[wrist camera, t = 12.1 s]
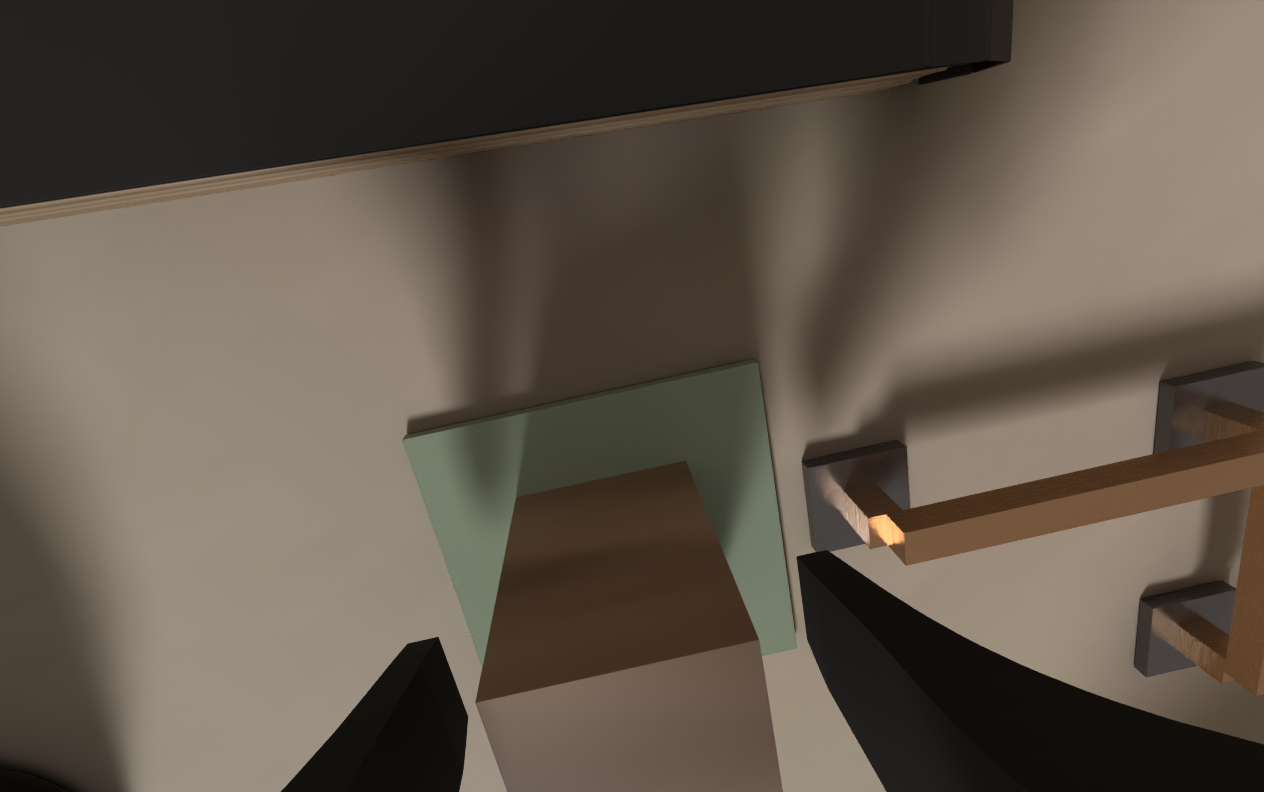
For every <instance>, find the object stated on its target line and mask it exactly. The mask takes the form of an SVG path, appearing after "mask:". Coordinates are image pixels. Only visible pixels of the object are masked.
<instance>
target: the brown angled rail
mask: <svg viewBox="0 0 1264 792" xmlns="http://www.w3.org/2000/svg"><path fill="white" fill-rule="evenodd" d="M802 469H803V477H804V486H805V494H806V502H807V511H808V519H809V528H810V536H811V544H812V547H813V548H814V550H815V551H816V552H819V551H824V550H828V551H829V552H830V551H835V550H839V549H844V548H848V547H853V546H857V545H861V544H867V545H868V547H869V548H870V549H872V548H877V547H881V546H886V545H888V546H889V547H890V548H891V549H892V550H893V552H894V553H895V554H896V555H897V556H898V557H899V558H900V559H901V561H902V562H903V563H904V564H905V565H906V566H907V565H911V564H916V563H920V562H924V561H929V560H933V559H938V558H942V557H947V556H951V555H955V554H960V553H964V552H969V551H973V550H978V549H982V548H986V547H991V546H995V545H1000V544H1004V543H1009V542H1013V541H1017V540H1022V539H1026V538H1031V537H1035V536H1040V535H1044V534H1048V533H1053V532H1057V531H1062V530H1066V529H1071V528H1075V527H1079V526H1084V525H1088V524H1093V523H1097V522H1102V521H1106V520H1110V519H1115V518H1119V517H1124V516H1128V515H1133V514H1137V513H1141V512H1146V511H1150V510H1155V509H1159V508H1164V507H1168V506H1172V505H1177V504H1181V503H1186V502H1190V501H1195V500H1199V499H1203V498H1208V497H1212V496H1217V495H1221V494H1226V493H1230V492H1235V491H1239V490H1243V489H1248V488H1252V491H1251V497H1250V504H1249V510H1248V517H1247V524H1246V530H1245V537H1244V543H1243V550H1242V556H1241V563H1240V569H1239V576H1238V583H1237V589H1236V588H1234V587H1233V586H1231V585H1229V584H1228V583H1226V582H1224V581H1220V582H1215V583H1211V584H1207V585H1202V586H1198V587H1193V588H1189V589H1185V590H1180V591H1176V592H1172V593H1167V594H1163V595H1158V596H1154V597H1150V598H1145V599H1141V600H1140V609H1139V620H1138V631H1137V642H1136V653H1135V664H1134V667H1135V668H1136V669H1137V670H1138V671H1140V672H1141V673H1142V674H1143V675H1144V676H1146V677H1149V676H1154V675H1158V674H1162V673H1167V672H1171V671H1175V670H1180V669H1184V668H1188V667H1193V666H1197V665H1198V666H1199V667H1200V668H1202V669H1203V670H1204V671H1206V672H1207V673H1208V674H1210V675H1211V676H1212V677H1214V678H1215V679H1216V680H1218V681H1219V682H1220V683H1222V684H1224V683H1228V682H1233V681H1237V682H1238V683H1239V684H1241V685H1242V686H1243V687H1245V688H1246V689H1248V690H1249V691H1250V692H1252V693H1253V694H1254V695H1256V696H1259V695H1263V694H1264V363H1260V362H1256V361H1252V362H1248V363H1243V364H1239V365H1234V366H1230V367H1225V368H1221V369H1216V370H1212V371H1207V372H1203V373H1198V374H1194V375H1189V376H1185V377H1180V378H1176V379H1171V380H1167V381H1162V382H1160V389H1159V400H1158V411H1157V422H1156V433H1155V444H1154V454H1152V455H1148V456H1143V457H1139V458H1134V459H1130V460H1126V461H1121V462H1117V463H1112V464H1108V465H1103V466H1099V467H1094V468H1090V469H1085V470H1081V471H1076V472H1072V473H1067V474H1063V475H1059V476H1054V477H1050V478H1045V479H1041V480H1036V481H1032V482H1027V483H1023V484H1018V485H1014V486H1009V487H1005V488H1001V489H996V490H992V491H987V492H983V493H978V494H974V495H969V496H965V497H960V498H956V499H951V500H947V501H942V502H938V503H934V504H929V505H925V506H920V507H916V508H911V509H910V501H909V483H908V465H907V447H906V446H905V445H904V444H903V443H901V442H900V441H899V440H896V441H891V442H887V443H882V444H878V445H873V446H869V447H864V448H860V449H855V450H851V451H846V452H842V453H837V454H833V455H828V456H824V457H819V458H815V459H810V460H806V461H802Z"/></svg>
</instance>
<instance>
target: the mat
mask: <svg viewBox="0 0 1264 792" xmlns="http://www.w3.org/2000/svg"><path fill="white" fill-rule="evenodd" d="M403 443H404V446H405V449H406V452H407V455H408V457H409V460H410V463H411V466H412V469H413V472H414V474H415V477H416V480H417V483H418V486H419V489H420V491H421V494H422V497H423V500H424V503H425V506H426V508H427V511H428V514H429V517H430V520H431V523H432V525H433V528H434V531H435V534H436V537H437V540H438V542H439V545H440V548H441V551H442V554H443V557H444V559H445V562H446V565H447V568H448V571H449V574H450V576H451V579H452V582H453V585H454V588H455V591H456V593H457V596H458V599H459V602H460V605H461V608H462V610H463V613H464V616H465V619H466V622H467V625H468V628H469V630H470V633H471V636H472V639H473V642H474V645H475V647H476V650H477V653H478V656H479V659H480V662H481V664H482V667H483V662H484V657H485V652H486V647H487V642H488V637H489V632H490V627H491V622H492V616H493V611H494V606H495V601H496V596H497V591H498V586H499V581H500V576H501V571H502V566H503V560H504V555H505V550H506V545H507V540H508V535H509V530H510V525H511V520H512V515H513V510H514V504H515V499H516V497H519V496H524V495H529V494H533V493H538V492H542V491H547V490H552V489H556V488H561V487H566V486H570V485H575V484H580V483H584V482H589V481H593V480H598V479H603V478H607V477H612V476H617V475H621V474H626V473H630V472H635V471H640V470H644V469H649V468H654V467H658V466H663V465H668V464H672V463H677V462H681V461H686V462H687V465H688V467H689V470H690V472H691V474H692V477H693V479H694V482H695V484H696V487H697V489H698V492H699V494H700V496H701V499H702V501H703V504H704V506H705V509H706V511H707V514H708V516H709V518H710V521H711V523H712V526H713V528H714V531H715V533H716V535H717V538H718V540H719V543H720V545H721V548H722V550H723V553H724V555H725V557H726V560H727V562H728V565H729V567H730V570H731V572H732V574H733V577H734V579H735V582H736V584H737V587H738V589H739V592H740V594H741V596H742V599H743V601H744V604H745V606H746V609H747V611H748V613H749V616H750V618H751V621H752V623H753V626H754V628H755V631H756V633H757V635H758V638H759V641H760V648H761V654H762V656H765V655H769V654H774V653H778V652H783V651H787V650H791V649H796V648H797V644H796V637H795V630H794V622H793V615H792V608H791V600H790V593H789V586H788V578H787V571H786V564H785V557H784V549H783V542H782V535H781V527H780V520H779V513H778V505H777V498H776V491H775V483H774V476H773V469H772V461H771V454H770V447H769V440H768V432H767V425H766V418H765V410H764V403H763V396H762V388H761V381H760V374H759V366H758V362H757V361H756V360H755V359H751V360H747V361H742V362H737V363H733V364H728V365H724V366H719V367H714V368H710V369H705V370H701V371H696V372H692V373H687V374H682V375H678V376H673V377H669V378H664V379H659V380H655V381H650V382H646V383H641V384H637V385H632V386H627V387H623V388H618V389H614V390H609V391H604V392H600V393H595V394H591V395H586V396H582V397H577V398H572V399H568V400H563V401H559V402H554V403H549V404H545V405H540V406H536V407H531V408H526V409H522V410H517V411H513V412H508V413H504V414H499V415H494V416H490V417H485V418H481V419H476V420H471V421H467V422H462V423H458V424H453V425H449V426H444V427H439V428H435V429H430V430H426V431H421V432H416V433H412V434H407V435H405V437H404V438H403Z"/></svg>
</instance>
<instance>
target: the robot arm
mask: <svg viewBox="0 0 1264 792" xmlns="http://www.w3.org/2000/svg"><path fill="white" fill-rule="evenodd" d="M797 564H798V572H799V579H800V587H801V595H802V603H803V610H804V618H805V626H806V633H807V640H808V642H809V645H810V647H811V650H812V652H813V655H814V657H815V659H816V662H817V664H818V666H819V669H820V671H821V673H822V676H823V678H824V680H825V683H826V685H827V687H828V689H829V691H830V693H831V694H832V696H833V698H834V700H835V702H836V703H837V705H838V707H839V709H840V711H841V712H842V714H843V716H844V718H845V719H846V721H847V723H848V725H849V727H850V728H851V730H852V732H853V734H854V735H855V737H856V739H857V741H858V742H859V744H860V746H861V748H862V749H863V751H864V753H865V755H866V756H867V758H868V760H869V762H870V763H871V765H872V767H873V769H874V770H875V772H876V774H877V776H878V777H879V779H880V781H881V783H882V784H883V786H884V788H885V790H886V791H887V792H1264V745H1263V744H1260V743H1256V742H1252V741H1248V740H1245V739H1241V738H1237V737H1233V736H1230V735H1226V734H1222V733H1218V732H1215V731H1211V730H1207V729H1204V728H1200V727H1196V726H1192V725H1189V724H1185V723H1181V722H1178V721H1174V720H1171V719H1168V718H1164V717H1161V716H1158V715H1155V714H1152V713H1149V712H1146V711H1143V710H1140V709H1137V708H1133V707H1130V706H1127V705H1124V704H1121V703H1118V702H1115V701H1112V700H1110V699H1107V698H1104V697H1101V696H1098V695H1096V694H1093V693H1090V692H1087V691H1084V690H1082V689H1079V688H1077V687H1074V686H1072V685H1069V684H1067V683H1064V682H1062V681H1059V680H1057V679H1054V678H1052V677H1049V676H1047V675H1044V674H1041V673H1039V672H1037V671H1034V670H1032V669H1030V668H1028V667H1025V666H1023V665H1021V664H1018V663H1016V662H1014V661H1012V660H1010V659H1008V658H1006V657H1003V656H1001V655H999V654H997V653H995V652H993V651H991V650H989V649H987V648H985V647H982V646H980V645H978V644H976V643H974V642H972V641H971V640H969V639H967V638H965V637H963V636H961V635H959V634H957V633H955V632H954V631H952V630H950V629H948V628H947V627H945V626H943V625H941V624H939V623H938V622H936V621H934V620H932V619H931V618H929V617H927V616H925V615H924V614H922V613H920V612H919V611H917V610H916V609H914V608H912V607H911V606H909V605H908V604H906V603H904V602H903V601H901V600H900V599H898V598H897V597H895V596H893V595H892V594H890V593H889V592H887V591H886V590H884V589H883V588H881V587H880V586H878V585H877V584H875V583H874V582H872V581H871V580H870V579H868V578H867V577H865V576H864V575H862V574H861V573H859V572H858V571H857V570H855V569H854V568H852V567H851V566H849V565H848V564H847V563H845V562H844V561H842V560H841V559H839V558H838V557H836V556H835V555H833V554H832V553H830V552H829V551H828V550H824V551H819V552H815V553H810V554H806V555H801V556H797ZM467 724H468V715H467V712H466V710H465V707H464V704H463V702H462V699H461V696H460V694H459V691H458V688H457V685H456V683H455V680H454V677H453V675H452V672H451V669H450V667H449V664H448V661H447V659H446V656H445V653H444V651H443V648H442V645H441V643H440V640H439V637H436V638H431V639H427V640H422V641H418V642H413V643H409V644H407V645H406V646H405V648H404V649H403V650H402V651H401V652H400V653H399V654H398V656H397V657H396V658H395V659H394V660H393V662H392V663H391V664H390V665H389V666H388V668H387V669H386V670H385V671H384V673H383V674H382V675H381V676H380V678H379V679H378V680H377V681H376V682H375V684H374V685H373V686H372V687H371V689H370V690H369V691H368V692H367V694H366V695H365V696H364V697H363V698H362V700H361V701H360V702H359V703H358V704H357V706H356V707H355V708H354V709H353V710H352V712H351V713H350V714H349V715H348V717H347V718H346V719H345V720H344V721H343V723H342V724H341V725H340V726H339V727H338V729H337V730H336V731H335V732H334V733H333V734H332V736H331V737H330V738H329V739H328V740H327V741H326V742H325V743H324V744H323V746H322V747H321V748H320V749H319V750H318V751H317V752H316V753H315V755H314V756H313V757H312V758H311V759H310V760H309V761H308V762H307V764H306V765H305V766H304V767H303V768H302V769H301V770H300V771H299V772H298V774H297V775H296V776H295V777H294V778H293V779H292V780H291V781H290V782H289V784H288V785H287V786H286V787H285V788H284V789H283V790H282V791H281V792H459V789H460V785H461V780H462V775H463V768H464V759H465V749H466V737H467Z"/></svg>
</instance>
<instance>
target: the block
mask: <svg viewBox="0 0 1264 792" xmlns="http://www.w3.org/2000/svg"><path fill="white" fill-rule="evenodd" d="M476 706H477V708H478V711H479V714H480V717H481V720H482V722H483V725H484V728H485V731H486V734H487V736H488V739H489V742H490V745H491V747H492V750H493V753H494V756H495V759H496V761H497V764H498V767H499V770H500V773H501V775H502V778H503V781H504V784H505V786H506V789H507V792H783V790H782V783H781V777H780V771H779V764H778V758H777V751H776V745H775V738H774V732H773V725H772V719H771V712H770V706H769V699H768V693H767V686H766V680H765V674H764V667H763V661H762V654H761V648H760V641H759V638H758V635H757V633H756V631H755V628H754V626H753V623H752V621H751V618H750V616H749V613H748V611H747V609H746V606H745V604H744V601H743V599H742V596H741V594H740V592H739V589H738V587H737V584H736V582H735V579H734V577H733V574H732V572H731V570H730V567H729V565H728V562H727V560H726V557H725V555H724V553H723V550H722V548H721V545H720V543H719V540H718V538H717V535H716V533H715V531H714V528H713V526H712V523H711V521H710V518H709V516H708V514H707V511H706V509H705V506H704V504H703V501H702V499H701V496H700V494H699V492H698V489H697V487H696V484H695V482H694V479H693V477H692V474H691V472H690V470H689V467H688V465H687V462H686V461H681V462H677V463H672V464H668V465H663V466H658V467H654V468H649V469H644V470H640V471H635V472H630V473H626V474H621V475H617V476H612V477H607V478H603V479H598V480H593V481H589V482H584V483H580V484H575V485H570V486H566V487H561V488H556V489H552V490H547V491H542V492H538V493H533V494H529V495H524V496H519V497H516V499H515V504H514V510H513V515H512V520H511V525H510V530H509V535H508V540H507V545H506V550H505V555H504V560H503V566H502V571H501V576H500V581H499V586H498V591H497V596H496V601H495V606H494V611H493V616H492V622H491V627H490V632H489V637H488V642H487V647H486V652H485V657H484V662H483V667H482V672H481V677H480V683H479V688H478V693H477V698H476Z"/></svg>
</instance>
